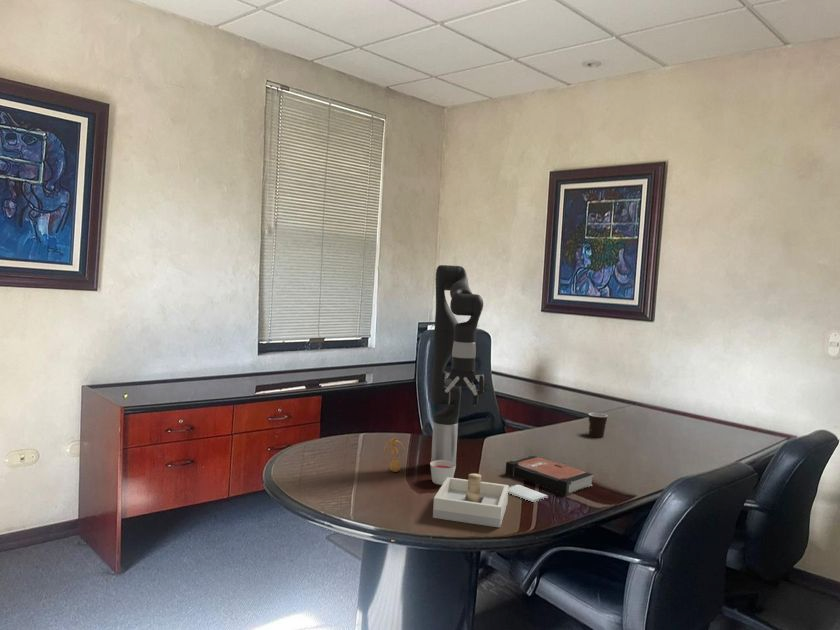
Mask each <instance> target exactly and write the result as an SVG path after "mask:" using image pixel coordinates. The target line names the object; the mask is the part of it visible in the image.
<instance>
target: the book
mask: <svg viewBox="0 0 840 630" xmlns="http://www.w3.org/2000/svg"><path fill="white" fill-rule="evenodd" d="M505 462H506V463H505V473H504V474H505V475H506V474H508V475H507V476H509V475H511V476H510V477H512V476H513V477H514V476H515V477H514V478H516V477H518V478H517V479H519V478H521V479H520V480H522V479H524V480H523V481H525V480H527V481H526V482H528V481H530V482H529V483H531V482H533V483H532V484H534V483H536V484H539V485H541V487H542V486H544V487H543V488H545V487H547V488H546V489H548V488H550V489H549V490H551V489H552V490H551V491H554V490H555V492H557V491H558V492H559V493H558V492H557V493H558V494H560V493H562V494H561V495H563V494H564V496H568V495H567V494H569V495H571V494H574V493H576V491H577V492H579V491H578V490H580V491H582V490H585V489H588V488H590V486H591V487H593V486H594V485H593V484H592V483H593V477H594V475H595V473H590V472H587V471H584V470H582V469H577V468H574V467H572V466H567V464H566V463H563V462H562V463H561V462H554V461H551V460H548V459H545V458H541V457H538V456H536V455H533V456H529V457H526V458H521V459H518V460H514V461H513V460H509V461H505ZM536 484H535V485H536ZM539 485H538V486H539ZM587 487H588V488H587ZM584 488H585V489H584ZM581 489H582V490H581ZM573 492H574V493H573ZM570 493H571V494H570Z"/></svg>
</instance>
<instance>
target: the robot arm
mask: <svg viewBox="0 0 840 630" xmlns="http://www.w3.org/2000/svg"><path fill="white" fill-rule="evenodd" d="M435 271H436V272H435V313H434V314H435V317H434V328H433V329H434V331H433V333H434V334H433V363H432V374H431V382H430V399H431V402H432V404H434V405H447V406H446V407H445V408H443V409H442V410H439V411H437V412H435V413H434V414H433V421H432V437H431V438H432V439H431V440H432V441H431V458H430V459H431V460H430V463H431V462H432V461H437V460H444V461H450V462H453V463H455V464H456V465H457V448H458V447H457V446H458V445H457V444H458V432H459V431H458V428H459V418H460V417H459V416H460V406H461V399H462V387H463V388H468V389H469V390H470V391H471V392H472V394H473V395H472V407H474V408H475V407H476V406H477V405H478V403H479V395H482V394H484V393H485V375H484V374H476V372H475V371H476V353H477V352H476V351H477V348H476V340H477V339H476V338H477V327H478V323H479V320H480V317H481V315H482V312H483V308H484V299H483V297H482V296H481V295H479V294H476V293H473V291H472V290H471V288H470V286H469V281H468V280H469V278H468V275H467V271H466V269H465V267H463V266H460V265H450V264H449V265H446V264H445V265H443V264H441V265H438V266H437V267H436V270H435ZM445 291H449V295H450V298H451V299H450V306H449V304H448V301H447V299H446V293H445ZM455 316H464V317H465V316H467V317H468V316H469V319H468V320H467V321H464V322H458V320H457V318H456V317H455ZM449 360H451V370H450V372H448V371H445V368H446V366H447V364H448V362H449ZM475 379H476V380H477V382H478V383H479V384H478V386H479V387H478V388H479V389H477V387H476V385H475V384H474V381H475Z"/></svg>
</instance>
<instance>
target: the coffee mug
mask: <svg viewBox="0 0 840 630" xmlns="http://www.w3.org/2000/svg"><path fill="white" fill-rule="evenodd" d="M587 415H588V434H589V436H590V437H591V438H596V439H597V438H598V439H602V438H604V437H605V430H606V426H607V420H608V414H605V413H602V412H601V413H599V412H589V413H588V414H587Z"/></svg>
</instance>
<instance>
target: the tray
mask: <svg viewBox="0 0 840 630" xmlns="http://www.w3.org/2000/svg"><path fill="white" fill-rule="evenodd" d="M509 487H510V486H509V485H508V484H504V483H503V484H501V483H494V482H487V481H481V491H480V503H477V502H470V501H467V493H468V479H464V478H457V477H456V478H455V477H453V478H450V477H447V479H446V480H445V482H444V483H443V485H440V487H439V490H438V491H437V492H436V494H435V496H434V497H433V509H432V518H433V519H440V520H446V521H454V522H458V523H459V522H461V523H466V524H473V525H481V526H487V527H493V528H494V527H495V528H501V526H502V522H503V519H504V516H505V513H506V509H507V507H508V503H509V502H508V501H509V494H508V488H509ZM506 506H507V507H506Z"/></svg>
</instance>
